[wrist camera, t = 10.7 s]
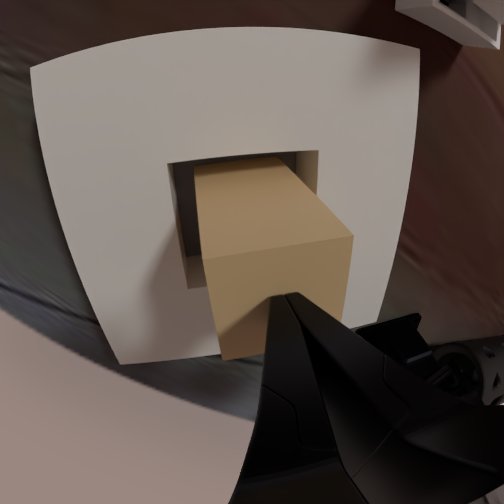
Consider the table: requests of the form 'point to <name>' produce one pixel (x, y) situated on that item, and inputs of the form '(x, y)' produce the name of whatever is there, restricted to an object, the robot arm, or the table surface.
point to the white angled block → (460, 19)
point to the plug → (265, 247)
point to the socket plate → (218, 161)
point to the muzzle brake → (478, 365)
